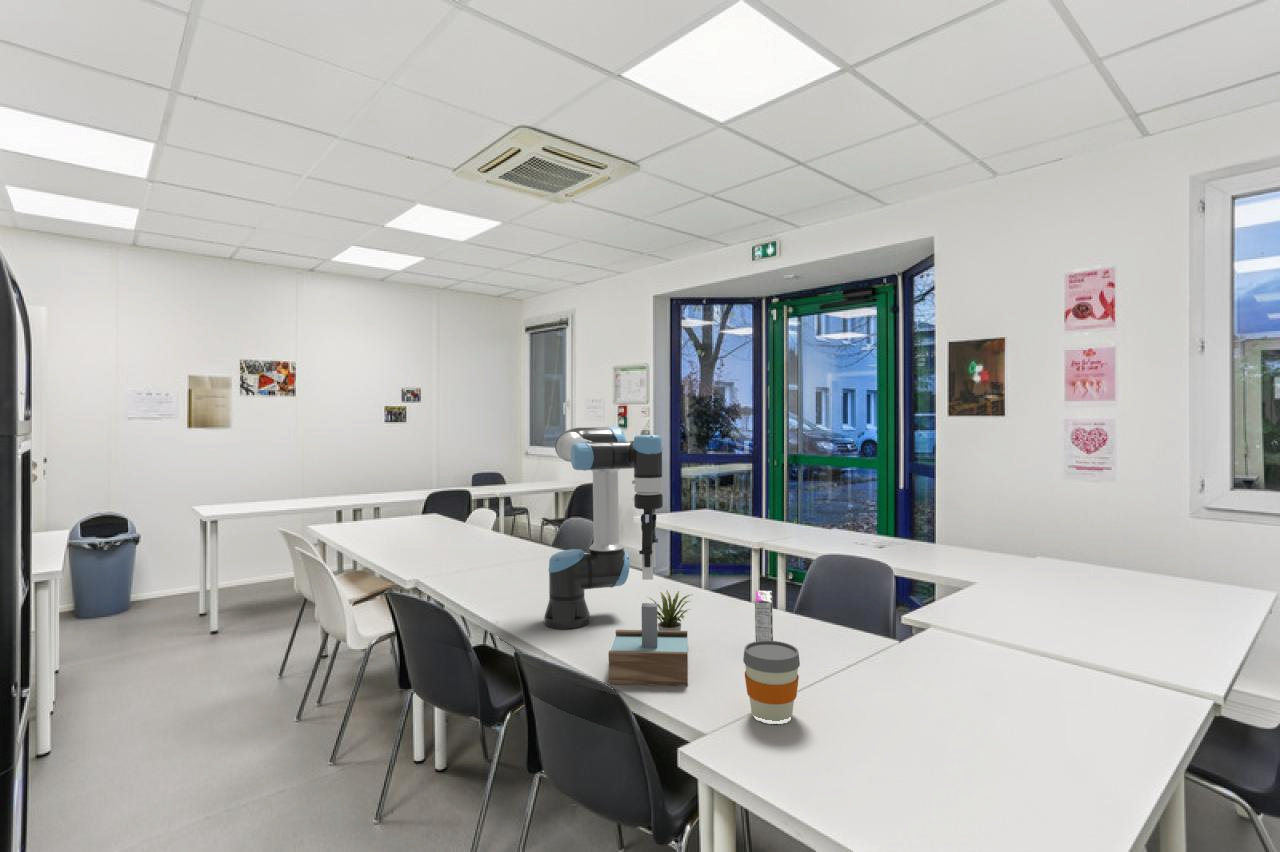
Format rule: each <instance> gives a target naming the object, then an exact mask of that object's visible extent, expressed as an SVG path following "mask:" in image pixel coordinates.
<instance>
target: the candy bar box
mask: <svg viewBox="0 0 1280 852" xmlns="http://www.w3.org/2000/svg"><path fill="white" fill-rule="evenodd" d="M773 615H774V613H773V591H772V590H756V591H755V599H754V619H755V620H754V621H755V622H754V623H755V626H754V627H755V642H756V641H774V627H773V626H774V625H773V623H774V622H773V621H774V618H773Z"/></svg>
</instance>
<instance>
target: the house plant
mask: <svg viewBox="0 0 1280 852" xmlns="http://www.w3.org/2000/svg"><path fill="white" fill-rule="evenodd" d="M665 590H666V591H665V594H666V596H665V594H664V593H663V592H660V596H661V600H662V601H661V602H662V607H661V605H660V604H659V603H657V601H655V600H654V599H653V598H651V597H648V596H647V598H648V599H649V600H650V601H652V602H653V603H657V608H658V609H659V610H660V611H658V610H657V620H659V621H660V622H657V630H662V631H682V620H684V619H685V615H684V614H685V613H689V612H688V611H690V610H691V608H688V609H685V610H684V609H682V608H683V607H684V606H685V605H686V604H687V603H689V602H690V600H685V599H687V598H688V597H690V596H694V594H687V595H685V596H684V597H682V598H681V599H680V601H679V602H678V599H679V595H680V590H678V591H677V592H676V593H675V596H674V598H673V599H672V598H671V594H670V593H669V591H668V590H667V589H665ZM666 597H667V598H666ZM677 602H678V603H677ZM681 604H682V605H681ZM679 607H680V608H679ZM677 610H678V611H677ZM680 613H681V614H680ZM679 614H680V615H679ZM678 615H679V616H678ZM680 618H681V619H682V620H681V619H680Z"/></svg>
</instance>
